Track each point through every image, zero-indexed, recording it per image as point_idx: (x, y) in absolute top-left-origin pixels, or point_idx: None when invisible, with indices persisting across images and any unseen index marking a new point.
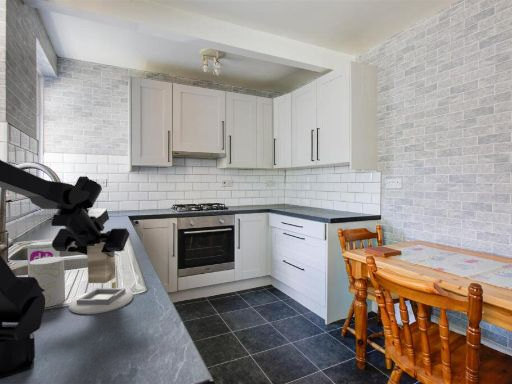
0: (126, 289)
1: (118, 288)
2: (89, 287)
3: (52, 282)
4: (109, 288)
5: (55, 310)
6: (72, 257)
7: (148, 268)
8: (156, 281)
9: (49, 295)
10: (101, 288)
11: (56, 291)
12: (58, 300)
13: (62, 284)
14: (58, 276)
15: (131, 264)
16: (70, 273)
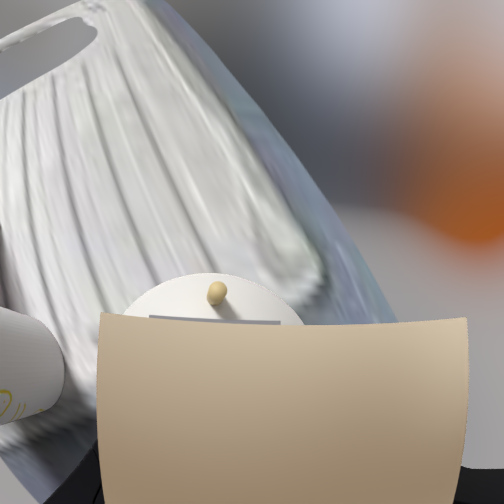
0: (263, 289)
1: (250, 320)
2: (87, 230)
3: (15, 413)
4: (209, 319)
5: (92, 443)
6: (9, 38)
7: (226, 73)
8: (313, 183)
9: (34, 411)
10: (173, 319)
11: (40, 397)
12: (58, 388)
13: (35, 370)
14: (12, 394)
15: (157, 46)
16: (7, 117)
